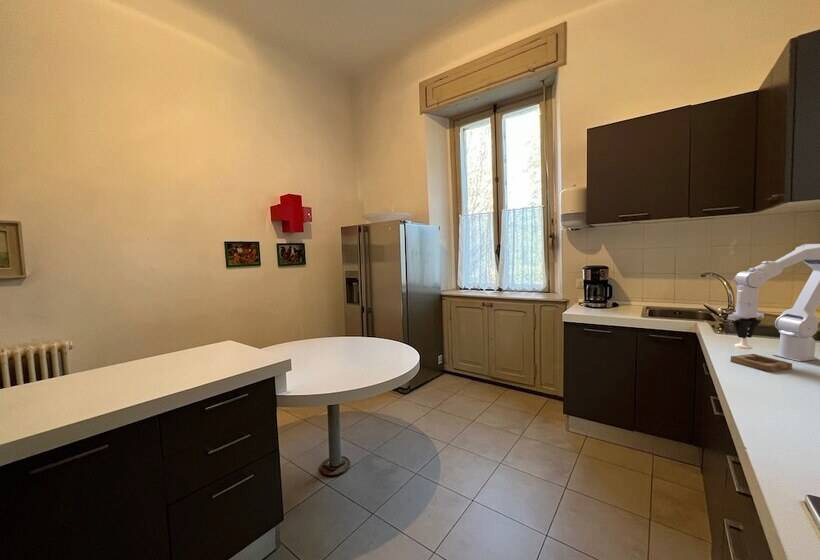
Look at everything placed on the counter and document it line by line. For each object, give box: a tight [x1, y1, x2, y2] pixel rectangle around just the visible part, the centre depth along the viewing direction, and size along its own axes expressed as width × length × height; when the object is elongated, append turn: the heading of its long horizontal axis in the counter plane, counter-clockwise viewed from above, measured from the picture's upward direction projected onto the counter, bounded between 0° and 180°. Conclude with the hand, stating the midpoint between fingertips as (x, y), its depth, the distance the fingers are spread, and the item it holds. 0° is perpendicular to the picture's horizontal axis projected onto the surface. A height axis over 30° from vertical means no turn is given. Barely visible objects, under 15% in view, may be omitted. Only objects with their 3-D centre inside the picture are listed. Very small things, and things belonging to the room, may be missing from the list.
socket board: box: [730, 353, 793, 373], centre depth 117 cm, size 11×11×2 cm
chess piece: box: [734, 328, 753, 350], centre depth 125 cm, size 5×5×10 cm
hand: (744, 337), depth 125 cm, fingers closed on chess piece, 2 cm apart
